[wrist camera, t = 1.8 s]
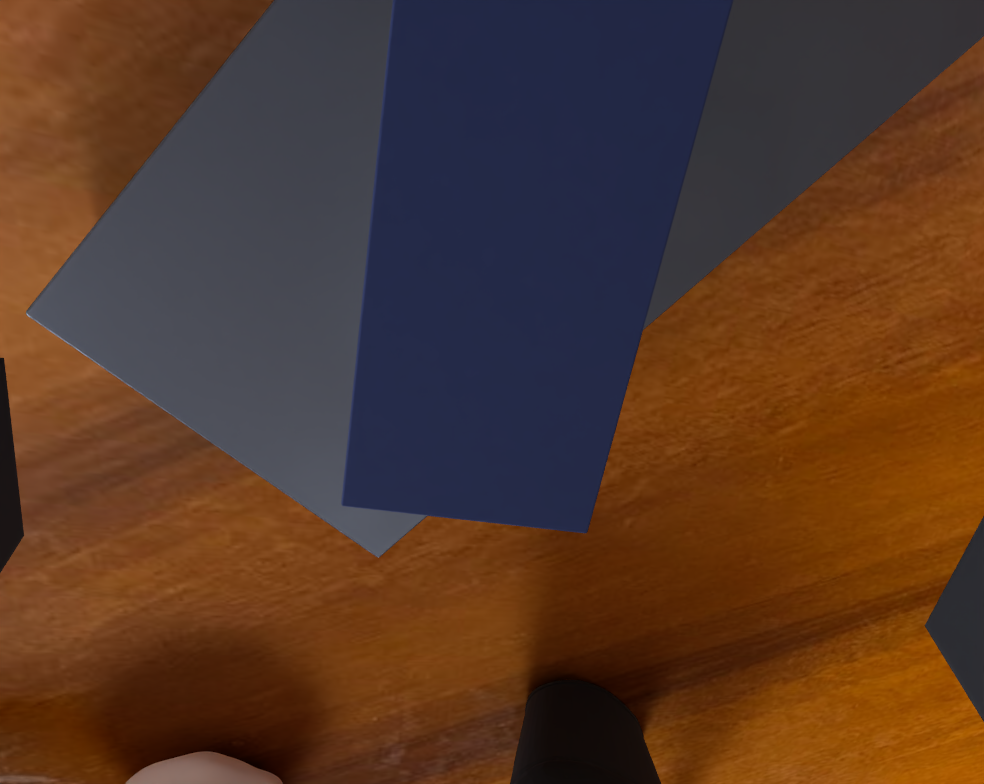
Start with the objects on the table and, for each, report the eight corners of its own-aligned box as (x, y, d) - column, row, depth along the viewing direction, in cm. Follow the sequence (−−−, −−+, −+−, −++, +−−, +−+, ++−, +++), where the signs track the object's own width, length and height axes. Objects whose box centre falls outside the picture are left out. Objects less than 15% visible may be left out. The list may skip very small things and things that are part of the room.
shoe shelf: (640, -440, 24) (695, -528, 19) (926, -34, 29) (1036, -8, 24) (97, 236, 33) (23, 314, 27) (390, 456, 38) (378, 559, 33)
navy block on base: (417, -141, 22) (393, -139, 14) (660, -95, 22) (765, -69, 15) (362, 368, 29) (326, 557, 21) (549, 392, 29) (582, 585, 22)
